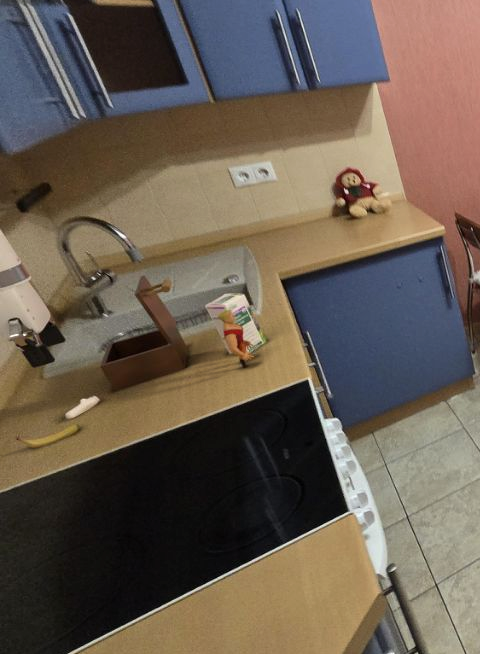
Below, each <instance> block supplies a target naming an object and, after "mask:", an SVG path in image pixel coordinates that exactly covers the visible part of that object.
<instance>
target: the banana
mask: <svg viewBox="0 0 480 654" xmlns="http://www.w3.org/2000/svg"><path fill="white" fill-rule="evenodd" d="M79 428H80V425H79V424H73V425H71V426H68V427H66V428H64V429H63V430H61V431H58V432H56V433H54V434H51V435H48V436H45V437H42V438H36V439H24V438H23V437H21V436H20V435H18V436H16V437H15V438H14V439H15V441H19V442H22V443H25V445H26V446H27V447H28V448H33V449H34V448H40V447H43V446H46V445H50V444H52V443H54V442H57V441H59V440H62V439H64V438H66V437H69V436H71V435H73V434H75V433H76V432H77V431H78V430H79Z"/></svg>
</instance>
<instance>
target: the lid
mask: <svg viewBox="0 0 480 654" xmlns="http://www.w3.org/2000/svg"><path fill="white" fill-rule="evenodd" d="M172 283H173V282H172V280H171V279H168V278H167V279H166V278H165V279H164V280H162V282H160V283H156V284H155V285H154V284H153V285H152V284H151V283H150V281H149V279H148V278H147V277H146V275H142V276H141V275H140V278H139V280H138V284H137V285H136V289H135V292H134V296H135V298H136V299H137V301H138V302H139V304H140V305H141V306H142V308H143V310H144V311H145V312H146V314H147V315H148V316H149V318H150V319H151V320H152V322H153V324H154V325H155V326H156V328H157V329H159V331H160V332H161V333H162V335H163V336H164V338H165V339H166V341H167V342H168V343H169V344H170V343H172V342H173V338H174V331H175V325H176V326H177V321H176V319H175V318H174V317H173V315H172V313H171V312H170V310H169V309H168V308H167V306H166V305H165V303H164V302H163V300H162V299H161V298H160V296H159V295H158V294H160V293H169V292H170V291H171V288H172Z"/></svg>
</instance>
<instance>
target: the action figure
mask: <svg viewBox="0 0 480 654" xmlns="http://www.w3.org/2000/svg"><path fill="white" fill-rule="evenodd" d="M218 317H219V319H221V320H222V322H224V324H223V332H224V338H225V339H226V343H227V344H228V348H229V350H230V351H231V352H232V353H233V354H232V355H234V356H237V357H239V358H238V360H239V363H240V364H241V366H242V368H243V369H246V368H247V369H248V368H249V367H250V365H247V362H250V360H251V361H252V358H255V355H251V354H252V352H251V353H250V352H247V353H246V346H247V349H249V348H248V346H249V347H250V348H251V346H254V345H253V344H251V342H249V341H247V340H243V327H241V326H240V325H238V324H235V323H234V322H236V319H235V318H236V317H235V316H234V315H233V314H232V312H231V311H230V310H226V311H225V312H223V313H221V314H220V315H219V316H218ZM250 345H251V346H250ZM237 348H238V349H239V350H238V349H237Z"/></svg>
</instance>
